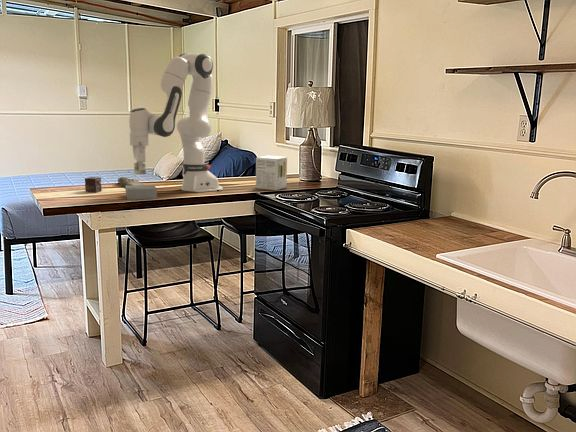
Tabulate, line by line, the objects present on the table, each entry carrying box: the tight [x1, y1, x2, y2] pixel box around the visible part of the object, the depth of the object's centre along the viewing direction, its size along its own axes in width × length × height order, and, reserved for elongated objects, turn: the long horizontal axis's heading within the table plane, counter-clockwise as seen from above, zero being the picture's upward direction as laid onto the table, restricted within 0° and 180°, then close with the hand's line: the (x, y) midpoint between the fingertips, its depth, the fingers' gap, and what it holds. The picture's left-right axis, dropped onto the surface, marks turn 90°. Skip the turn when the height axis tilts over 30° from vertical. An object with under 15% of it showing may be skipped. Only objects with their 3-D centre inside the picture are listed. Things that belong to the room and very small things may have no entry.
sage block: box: [133, 162, 147, 175], centre depth 278 cm, size 5×5×5 cm
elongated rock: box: [117, 176, 146, 187], centre depth 310 cm, size 35×5×10 cm
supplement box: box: [255, 155, 288, 191], centre depth 315 cm, size 13×13×18 cm
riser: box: [124, 184, 158, 201], centre depth 281 cm, size 14×12×5 cm
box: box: [84, 176, 103, 194], centre depth 293 cm, size 6×6×7 cm
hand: (139, 169), depth 278 cm, fingers closed on sage block, 5 cm apart
